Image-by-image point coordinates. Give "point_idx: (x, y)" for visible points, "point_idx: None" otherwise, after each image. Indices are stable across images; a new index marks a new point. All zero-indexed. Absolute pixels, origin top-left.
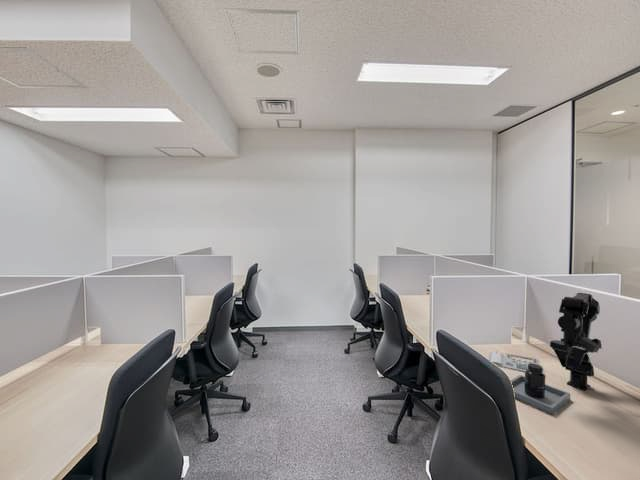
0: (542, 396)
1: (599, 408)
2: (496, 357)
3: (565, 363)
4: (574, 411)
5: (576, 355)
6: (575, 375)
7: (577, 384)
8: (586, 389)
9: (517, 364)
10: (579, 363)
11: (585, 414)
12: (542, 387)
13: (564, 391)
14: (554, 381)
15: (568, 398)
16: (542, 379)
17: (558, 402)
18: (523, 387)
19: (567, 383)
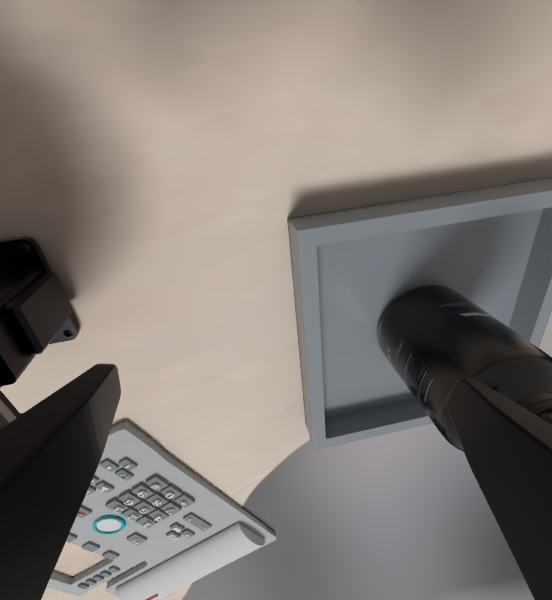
0: (447, 288)
1: (223, 53)
2: (201, 570)
3: (542, 420)
4: (423, 133)
5: (11, 592)
6: (13, 344)
7: (51, 290)
8: (12, 239)
9: (161, 520)
10: (96, 393)
11: (408, 75)
12: (488, 316)
13: (304, 261)
14: (127, 374)
15: (324, 218)
16: (539, 350)
17: (499, 201)
18: (386, 377)
19: (78, 332)
